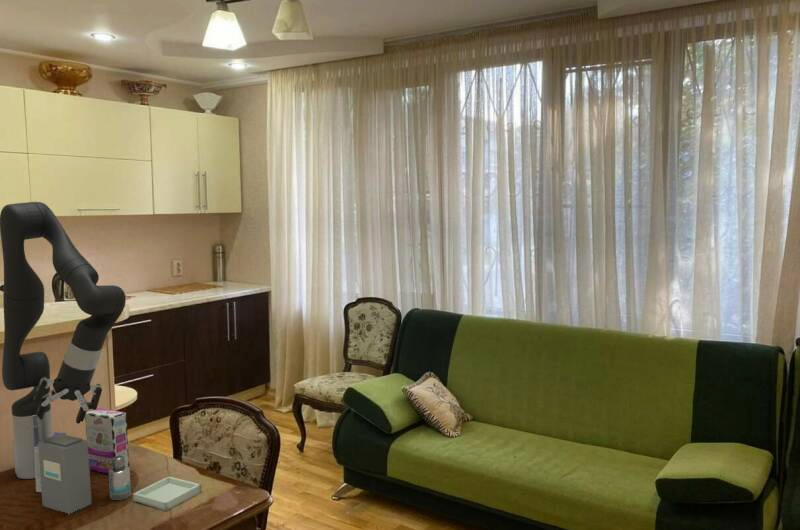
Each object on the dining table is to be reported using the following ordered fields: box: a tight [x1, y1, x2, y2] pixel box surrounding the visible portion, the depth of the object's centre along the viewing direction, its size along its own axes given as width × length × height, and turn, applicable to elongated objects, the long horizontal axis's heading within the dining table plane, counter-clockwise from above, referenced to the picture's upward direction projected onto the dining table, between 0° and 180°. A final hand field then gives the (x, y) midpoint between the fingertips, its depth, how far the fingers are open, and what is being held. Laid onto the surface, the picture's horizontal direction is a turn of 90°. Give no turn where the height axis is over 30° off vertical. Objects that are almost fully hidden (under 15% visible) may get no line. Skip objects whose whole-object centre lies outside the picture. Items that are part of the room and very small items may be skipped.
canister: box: [108, 456, 132, 501], centre depth 162 cm, size 5×5×10 cm
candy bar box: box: [84, 407, 130, 475], centre depth 179 cm, size 11×5×16 cm, turn 64°
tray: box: [132, 476, 202, 512], centre depth 162 cm, size 11×11×2 cm
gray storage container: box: [38, 434, 92, 515], centre depth 158 cm, size 10×6×17 cm, turn 62°
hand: (59, 419), depth 159 cm, fingers open, 8 cm apart
